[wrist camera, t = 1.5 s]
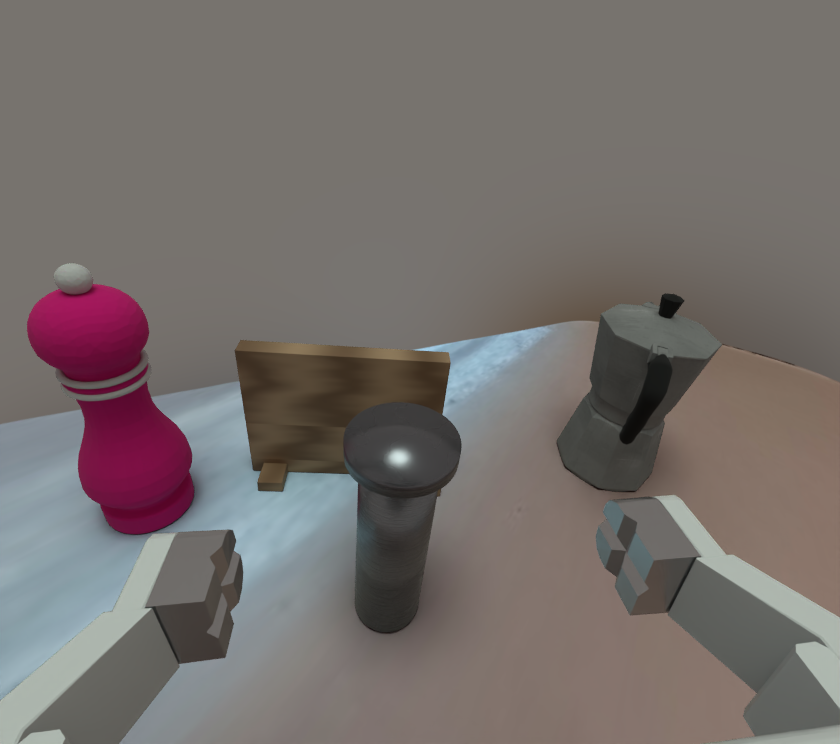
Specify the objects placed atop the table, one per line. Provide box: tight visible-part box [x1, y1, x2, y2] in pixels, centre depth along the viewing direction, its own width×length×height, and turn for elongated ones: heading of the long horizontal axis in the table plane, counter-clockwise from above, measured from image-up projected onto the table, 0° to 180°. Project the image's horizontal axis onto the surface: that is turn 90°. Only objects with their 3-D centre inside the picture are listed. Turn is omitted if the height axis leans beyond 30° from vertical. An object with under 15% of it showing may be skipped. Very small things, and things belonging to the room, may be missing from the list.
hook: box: [343, 402, 461, 632], centre depth 33 cm, size 6×20×15 cm, turn 2°
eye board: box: [235, 340, 450, 496], centre depth 38 cm, size 16×6×12 cm, turn 92°
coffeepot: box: [557, 294, 722, 492], centre depth 40 cm, size 15×9×18 cm, turn 156°
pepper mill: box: [27, 263, 194, 534], centre depth 31 cm, size 7×7×20 cm
